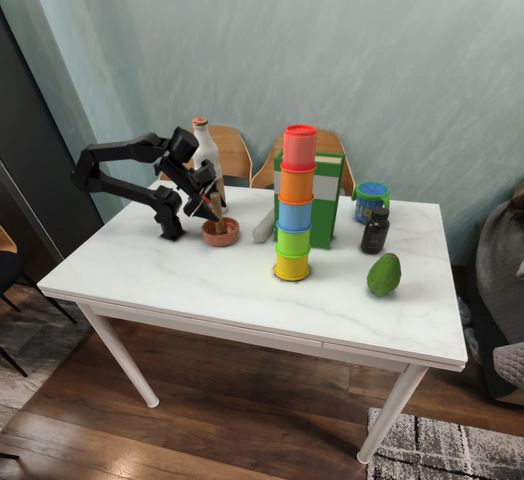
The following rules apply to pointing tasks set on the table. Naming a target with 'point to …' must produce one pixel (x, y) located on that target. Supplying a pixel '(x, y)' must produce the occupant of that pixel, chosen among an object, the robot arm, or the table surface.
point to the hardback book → (317, 196)
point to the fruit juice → (207, 155)
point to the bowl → (221, 240)
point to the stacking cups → (295, 202)
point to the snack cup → (370, 199)
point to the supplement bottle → (375, 231)
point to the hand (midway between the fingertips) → (222, 213)
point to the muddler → (218, 214)
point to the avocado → (384, 275)
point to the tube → (264, 227)
